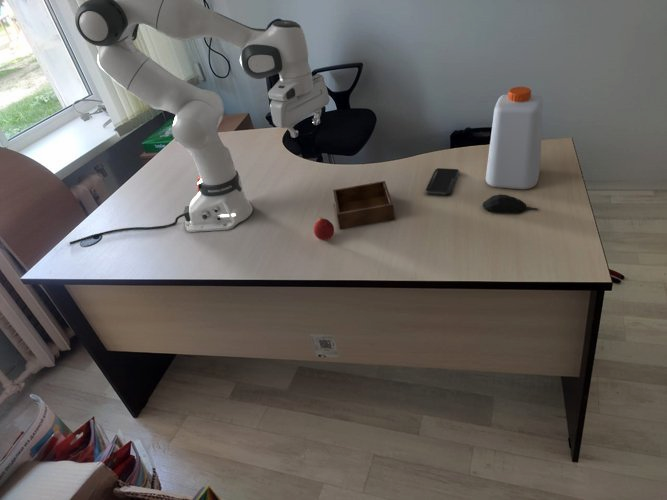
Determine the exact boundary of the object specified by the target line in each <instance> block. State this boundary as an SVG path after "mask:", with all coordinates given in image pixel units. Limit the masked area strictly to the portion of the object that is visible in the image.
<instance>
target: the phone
mask: <svg viewBox="0 0 667 500" xmlns="http://www.w3.org/2000/svg"><path fill="white" fill-rule="evenodd" d="M459 175H460V170H459V169H458V168H444V167H443V168H441V167H438V168H437V167H436V169H435V170H434V172H433V173H432V176H431V177H430V180H429V182H428V184H427V186H426V189H425V194H426V195H431V196H442V197H443V196H444V197H448V196H451V195H452V192H453V190H454V187H455V184H456V182H457V180H458V178H459Z"/></svg>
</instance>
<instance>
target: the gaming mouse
mask: <svg viewBox="0 0 667 500" xmlns="http://www.w3.org/2000/svg"><path fill="white" fill-rule="evenodd" d="M482 208H483V210H485V211H486V212H490V213H493V214H520V213H523V212H525V210H535V211H538V208H536V207H531V206H527V204H526V203H525V202H524V201H522V199H519V198H516V197H515V196H511V195H508V194H502V193H501V194H494V195H492V196H490V197H489V198H487V199H486V200H485V201H483V202H482Z"/></svg>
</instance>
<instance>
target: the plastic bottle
mask: <svg viewBox="0 0 667 500" xmlns="http://www.w3.org/2000/svg"><path fill="white" fill-rule="evenodd" d="M543 104H544V100H543V97H542V96H541V95H540V94H537V93H532V89H531V88H529V87H527V86H516V87H512V88H510V89H509V90H508V92H507V93H504V94H502V95H500V96H499V98H498V100H497V102H496V104H495V106H494V110H493V118H492V124H491V132H490V133H491V134H490V140H489V148H488V156H487V165H486V173H485V182H486V184H488V185H489V186H491V187H492V188H498V189H509V190H510V189H511V190H529V189H532V188H534V187H536V185H537V184H538V181H539V177H540V173H541V158H542V157H541V154H542V133H543V131H542V130H543V129H542V128H543V107H544V106H543Z"/></svg>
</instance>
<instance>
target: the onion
mask: <svg viewBox="0 0 667 500" xmlns="http://www.w3.org/2000/svg"><path fill="white" fill-rule="evenodd" d="M313 233H314V235H315V237H316V238H317V239H318V240H320V241H325V242H326V241H328V240H330V239H331V238H332V237H333V236H334V233H335V226H334V224H333V223H332V221H330V220H329V219H327V218H323V217H322V216H319V217H318V220H317V221H316V222H315V223H314V225H313Z"/></svg>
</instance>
